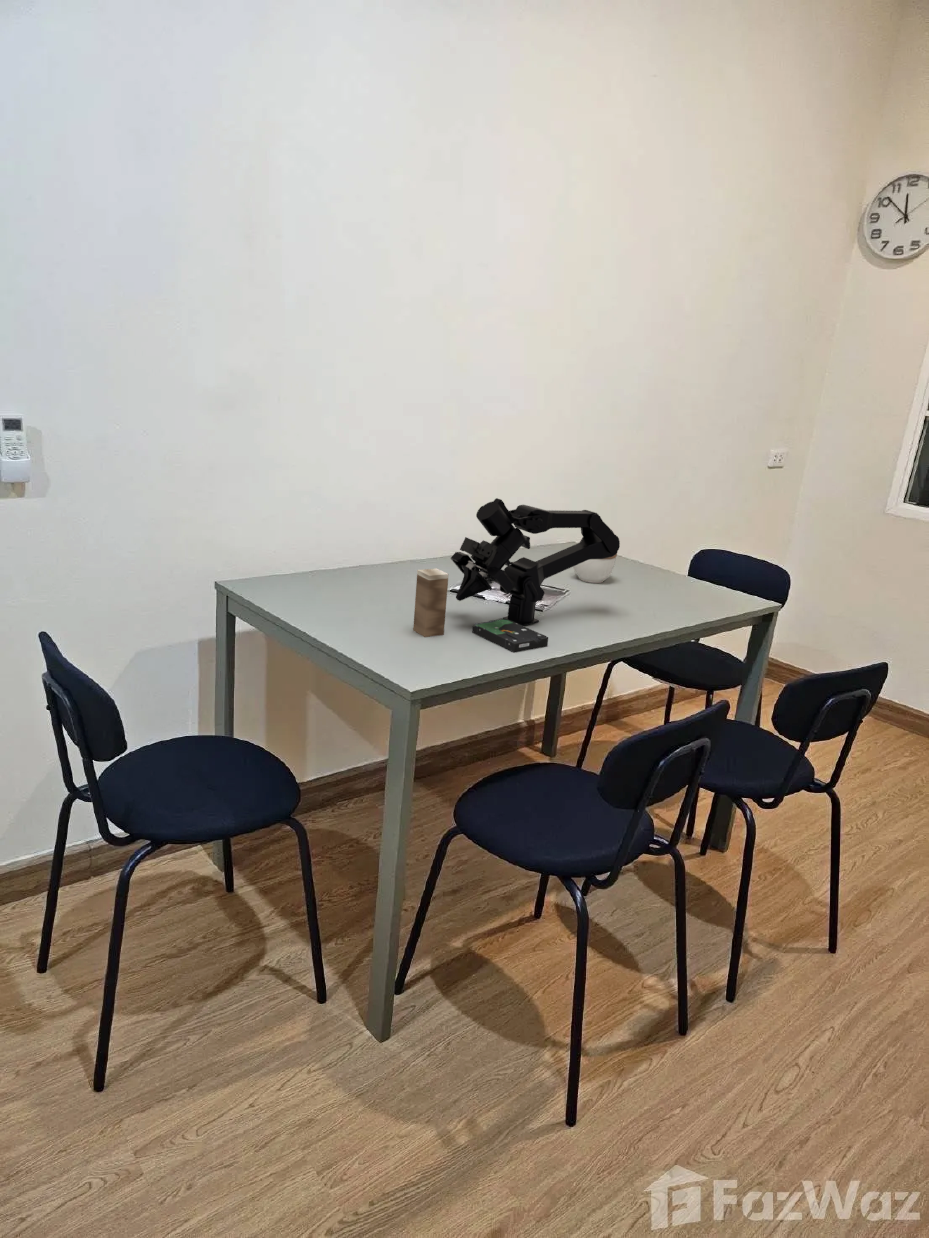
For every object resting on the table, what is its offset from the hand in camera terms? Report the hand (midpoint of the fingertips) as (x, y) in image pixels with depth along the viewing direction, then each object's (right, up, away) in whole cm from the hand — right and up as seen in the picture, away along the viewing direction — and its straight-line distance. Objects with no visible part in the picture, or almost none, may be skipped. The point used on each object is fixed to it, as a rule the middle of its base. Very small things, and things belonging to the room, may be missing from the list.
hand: (457, 599), depth 193 cm
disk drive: (+11, -10, -1) cm, 15 cm away
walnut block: (-7, -7, -2) cm, 10 cm away
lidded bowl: (+39, +7, +58) cm, 70 cm away
